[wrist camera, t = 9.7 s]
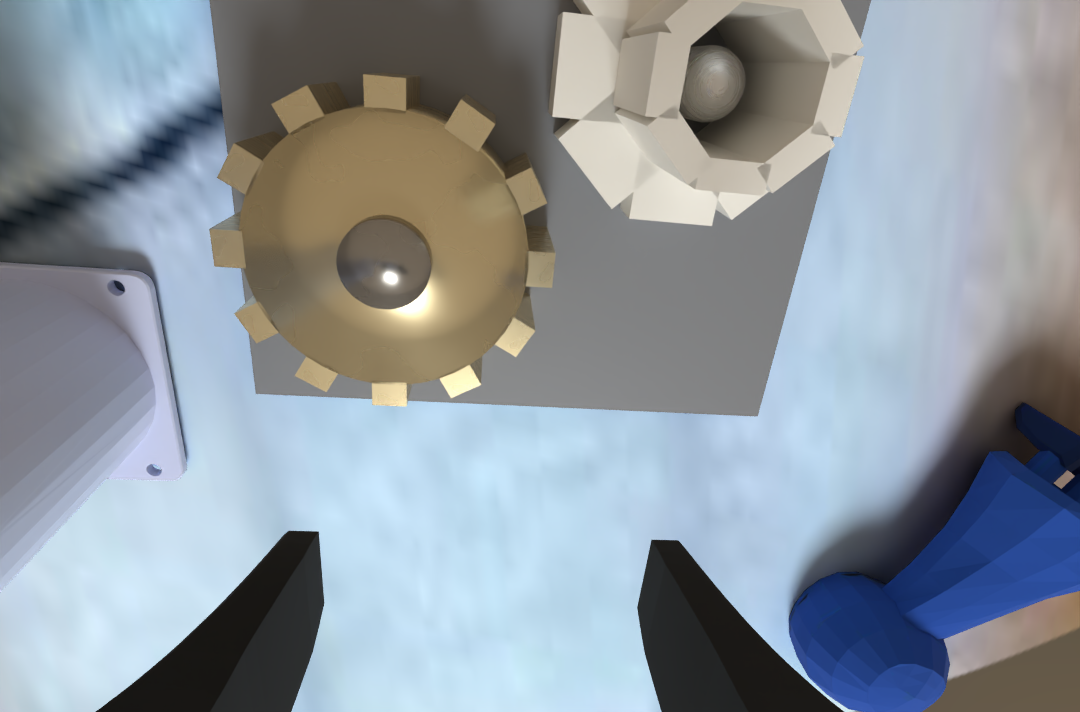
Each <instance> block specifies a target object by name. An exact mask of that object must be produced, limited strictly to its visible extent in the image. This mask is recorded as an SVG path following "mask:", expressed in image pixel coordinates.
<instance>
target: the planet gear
mask: <svg viewBox="0 0 1080 712" xmlns="http://www.w3.org/2000/svg"><path fill="white" fill-rule="evenodd" d="M573 1H574V3H575V4H576V6H577V7H578V9H579V10H580V12H581V13H582V14H577V13H569V12H562V13H561V14H560V15H558V19H557V29H556V39H555V49H554V59H553V69H552V79H551V89H550V99H549V109H548V113H549V114H550V115H551V116H552V117H560V118H570V120H569V121H568V122H566V123H565V124H564V125H563V126H562V127H561V128H560V129H558V130H557V131H556V132H555V133H554V134H555V136H556V137H557V138H558V140H559V141H560V142H561V144H562V145H563V146H564V148H565V149H566V150H567V152H568V153H569V154H570V155H571V157H572V158H573V159H574V161H575V162H576V163H577V165H578V166H579V167H580V169H581V170H582V171H583V173H584V174H585V175H586V176H587V178H588V179H589V180H590V182H591V183H592V184H593V186H594V187H595V188H596V190H597V191H598V192H599V194H600V195H601V196H602V197H603V199H604V200H605V201H606V203H607V204H608V205H609V206H610V207H611V209H613V208H614V207H615V206H616V205H618V204H619V203H620V202H621V205H620V209H621V210H622V211H623V212H624V213H625V214H626V216H627V217H628V218H629V219H638V220H649V221H660V222H672V223H683V224H694V225H705V226H712V223H713V219H714V214H715V210H717V211H719V212H720V213H722V214H723V215H725V216H726V217H728V218H729V219H731V220H732V219H734V218H735V217H736V216H738V215H739V214H740V213H742V212H743V211H744V210H745V209H747V208H748V207H749V206H751V205H752V204H753V203H755V202H756V201H757V200H759V199H760V198H761V197H763V196H764V195H765V194H766V193H768V192H771V193H774V192H775V191H776V190H778V189H779V188H780V187H782V186H783V185H784V184H786V183H787V182H788V181H790V180H791V179H792V178H793V177H795V176H796V175H797V174H799V173H800V172H801V171H803V170H804V169H805V168H807V167H808V166H809V165H811V164H812V163H813V162H815V161H816V160H817V159H818V158H820V157H821V156H822V155H824V154H825V153H826V152H828V151H829V150H830V149H832V148H833V147H834V146H835V145H834V143H833V141H832V140H831V138H830V136H834V137H841V136H842V132H843V129H844V125H845V122H846V118H847V115H848V112H849V108H850V105H851V101H852V98H853V94H854V91H855V87H856V84H857V80H858V77H859V74H860V70H861V67H862V63H863V60H864V56H856V55H853V54H854V53H856V52H857V51H858V50H859V49H861V48H862V47H863V46H864V45H863V43H862V41H861V39H860V37H859V36H858V34H857V32H856V30H855V28H854V26H853V24H852V22H851V20H850V18H849V16H848V14H847V12H846V10H845V8H844V6H843V4H842V2H841V0H573ZM714 25H715V27H716V28H717V30H718V32H719V33H720V35H721V37H722V38H723V40H724V42H725V43H726V45H727V47H728V48H729V50H730V51H732V52H733V53H734V54H735V55H736V56H737V57H738V58H739V60H740V61H741V63H742V65H743V68H744V72H745V88H744V92H743V95H742V97H741V99H740V101H739V103H738V104H737V106H736V107H735V108H734V109H733V110H732V111H731V112H730V113H729V114H728V115H726V116H725V117H723V118H721V119H719V120H716V121H713V122H711V123H709V124H708V125H707V126H706V127H704V128H703V129H702V130H701V131H699V132H698V133H697V134H696V135H695V134H694V133H693V131H692V130H691V128H690V127H689V125H688V124H687V122H686V121H685V119H684V118H683V116H682V115H681V113H680V112H679V107H680V102H681V96H682V91H683V85H684V80H685V74H686V69H687V64H688V58H689V53H690V47H691V45H692V44H693V43H694V42H696V41H697V40H698V39H699V38H700V37H701V36H703V35H704V34H705V33H706V32H707V31H709V30H710V29H711V28H712V27H713V26H714Z"/></svg>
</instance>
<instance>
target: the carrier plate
mask: <svg viewBox="0 0 1080 712" xmlns="http://www.w3.org/2000/svg"><path fill="white" fill-rule="evenodd" d="M841 2H842V4H843V6H844V8H845V10H846V12H847V14H848V16H849V18H850V20H851V22H852V24H853V26H854V28H855V30H856V32H857V34H858V36H859V37H860V39H861V35H862V32H863V28H864V24H865V21H866V17H867V13H868V10H869V6H870V2H871V0H841ZM210 8H211V16H212V25H213V33H214V42H215V50H216V59H217V67H218V76H219V84H220V93H221V101H222V110H223V118H224V127H225V135H226V144H227V152H228V154H229V152H230V150H231V148H232V146H233V144H234V143H236V142H239V141H242V140H246V139H249V138H252V137H256V136H259V135H262V134H266V133H269V132H272V131H274V132H276V133H277V134H279V135H280V136H282V137H283V138H285V137H286V136H287V135H288V134H289V133H288V131H287V130H286V128H285V126H284V125H283V123H282V121H281V120H280V118H279V116H278V115H277V113H276V112H275V110H274V108H273V107H272V105H271V104H273V103H275V102H276V101H278V100H280V99H282V98H284V97H286V96H288V95H289V94H291V93H293V92H295V91H297V90H299V89H301V88H302V87H304V86H306V85H312V84H321V83H330V82H337V84H338V86H339V88H340V89H341V91H342V93H343V95H344V97H345V98H346V100H347V102H348V104H349V106H350V107H353V106H357V105H361V104H364V86H363V74H372V73H393V74H403V75H414V76H420V104H421V105H425V106H428V107H431V108H435V109H437V110H440V111H442V112H444V113H446V114H449V115H452V113H453V112H454V110H455V108H456V107H457V105H458V103H459V102H460V100H461V99H462V98H463V97H464V96H465V95H466V94H467V95H468V96H470V97H471V98H473V99H474V100H475V101H477V102H478V103H479V104H481V105H482V106H483V107H485V108H486V109H488V110H489V111H490V112H492V113H493V114H494V115H495V119H496V124H495V126H494V127H493V129H492V131H491V132H490V134H489V135H488V137H487V139H486V140H485V141H486V142H487V143H488V144H489V145H490V146H491V147H492V148H493V149H494V151H495V152H496V153H497V155H498V156H499V158H500V159H501V160H502V162H503V163H506V162H508V161H510V160H512V159H514V158H516V157H518V156H520V155H522V154H524V153H526V154H527V156H528V158H529V161H530V163H531V165H532V167H533V169H534V172H535V174H536V176H537V178H538V180H539V183H540V185H541V188H542V190H543V193H544V196H545V198H546V201H547V204H545V205H543V206H540V207H538V208H536V209H534V210H532V211H530V212H528V213H526V214H524V215H523V216H524V222H525V225H529V226H542V227H548V231H549V234H550V237H551V240H552V243H553V246H554V249H555V253H556V255H555V264H554V274H553V284H552V288H545V287H529V286H526V288H525V291H524V292H525V293H527V294H529V295H530V298H531V304H532V311H533V318H534V324H535V332H534V333H533V335H532V336H531V337H530V339H529V340H528V341H527V343H526V344H525V346H524V347H523V348H522V350H521V351H520V352H519V354H518V355H517V356H516V357H515V356H513V355H512V354H510V353H508V352H507V351H505V350H503V349H502V348H500V347H498V346H497V345H494V346H493V347H492V348H490V349H489V350H488V351H487V352H486V353H485V354H484V355H483V356H482V376H481V385H479V386H477V387H475V388H473V389H471V390H468V391H466V392H464V393H462V394H459V395H457V396H455V397H453V398H451V397H450V395H449V394H448V392H447V390H446V389H445V387H444V385H443V384H442V382H441V381H440V379H436V380H432V381H428V382H424V383H416V384H412V387H411V391H410V395H409V399H408V401H428V402H451V403H473V404H495V405H517V406H539V407H561V408H583V409H606V410H628V411H650V412H672V413H694V414H716V415H738V416H758V413H759V409H760V405H761V402H762V398H763V394H764V391H765V387H766V383H767V380H768V376H769V372H770V369H771V365H772V361H773V358H774V354H775V350H776V347H777V343H778V339H779V336H780V332H781V328H782V325H783V321H784V317H785V314H786V310H787V306H788V303H789V299H790V295H791V292H792V288H793V284H794V281H795V277H796V273H797V270H798V266H799V262H800V259H801V255H802V251H803V248H804V244H805V240H806V237H807V233H808V229H809V226H810V222H811V218H812V215H813V211H814V207H815V204H816V200H817V197H818V193H819V189H820V186H821V182H822V178H823V175H824V171H825V167H826V164H827V160H828V156H829V153H830V150H829V151H828V152H826V153H825V154H824V155H822V156H821V157H820V158H818V159H817V160H816V161H815V162H813V163H812V164H811V165H809V166H808V167H807V168H805V169H804V170H803V171H801V172H800V173H799V174H797V175H796V176H795V177H793V178H792V179H791V180H790V181H788V182H787V183H786V184H784V185H783V186H782V187H780V188H779V189H778V190H776V191H775V192H774V193H771V192H768V193H766V194H765V195H764V196H763V197H761V198H760V199H759V200H757V201H756V202H755V203H753V204H752V205H751V206H749V207H748V208H747V209H745V210H744V211H743V212H742V213H740V214H739V215H738V216H736V217H735V218H734V219H732V220H731V219H729V218H728V217H726V216H725V215H723V214H722V213H720V212H719V211H717V210H715V214H714V219H713V223H712V226H705V225H694V224H683V223H672V222H660V221H649V220H638V219H629V218H628V217H627V216H626V214H625V213H624V212H623V211H622V210H621V209H620V205H621V202H620V203H619V204H618V205H616V206H615V207H614V208H613V209H611V207H610V206H609V205H608V204H607V203H606V201H605V200H604V199H603V197H602V196H601V195H600V194H599V192H598V191H597V190H596V188H595V187H594V186H593V184H592V183H591V182H590V180H589V179H588V178H587V176H586V175H585V174H584V173H583V171H582V170H581V169H580V167H579V166H578V165H577V163H576V162H575V161H574V159H573V158H572V157H571V155H570V154H569V153H568V152H567V150H566V149H565V148H564V146H563V145H562V144H561V142H560V141H559V140H558V138H557V137H556V136H555V134H554V133H555V132H556V131H557V130H558V129H560V128H561V127H562V126H563V125H564V124H565V123H566V122H568V121H569V120H570V118H560V117H552V116H551V115H550V114H549V113H548V109H549V99H550V89H551V79H552V69H553V59H554V49H555V39H556V29H557V19H558V15H560V14H561V13H562V12H569V13H577V14H582V13H581V12H580V10H579V9H578V7H577V6H576V4H575V3H574V1H573V0H210ZM706 45H717V46H722V47H725V48H727V49H729V48H728V47H727V45H726V43H725V42H724V40H723V38H722V37H721V35H720V33H719V32H718V30H717V28H716V27H715V25H714V26H713V27H712V28H711V29H710V30H709V31H707V32H706V33H705V34H704V35H703V36H701V37H700V38H699V39H698V40H697V41H696V42H694V43H693V44H692V45H691V47H695V46H706ZM856 54H857V52H856V53H854V54H853V55H856ZM684 119H685V121H686V122H687V124H688V125H689V127H690V128H691V130H692V131H693V133H694V134H695V135H696V134H697V133H698V132H699V131H701V130H702V129H703V128H704V127H706V126H707V125H708V124H709V123H711V122H697V121H693V120H690V119H686V118H684ZM830 138H831V140H832V141H833V138H834V136H830ZM232 195H233V203H234V212H235V214H236V213H238V212H240V211H241V210H242V206H243V202H244V197H245V194H243V193H242V192H240V191H238V190H237V189H235V188H233V187H232ZM241 271H242V280H243V288H244V297H245V303H246V302H247V301H248V300H249V299H250V298H251V297H252V296H253V293H252V291H251V289H250V287H249V284H248V281H247V278H246V275H245V272H244V269H243V268H241ZM249 339H250V348H251V356H252V364H253V373H254V381H255V390H256V394H273V395H296V396H318V397H340V398H362V399H372V383H369V382H365V381H360V380H355V379H352V378H349V377H346V376H343V375H340V374H338V375H337V376H336V378H335V380H334V381H333V383H332V384H331V386H330V388H329V389H328V391H327V392H325V391H323V390H321V389H319V388H317V387H315V386H313V385H311V384H309V383H307V382H306V381H304V380H302V379H300V378H298V377H296V376H295V374H296V373H297V371H298V369H299V368H300V366H301V364H302V363H303V361H304V359H305V358H306V356H305V355H304V354H302V353H301V352H300V351H298V350H297V349H296V348H294V347H293V346H292V345H291V344H290V343H289V342H288V341H287V340H286V339H285V338H284V337H283V336H282V335H281V334H280V333H277V334H275V335H273V336H271V337H269V338H267V339H265V340H263V341H261V342H258V343H256V342H255V341H254V339H253V338H252V337H251V335H250V334H249Z"/></svg>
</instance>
